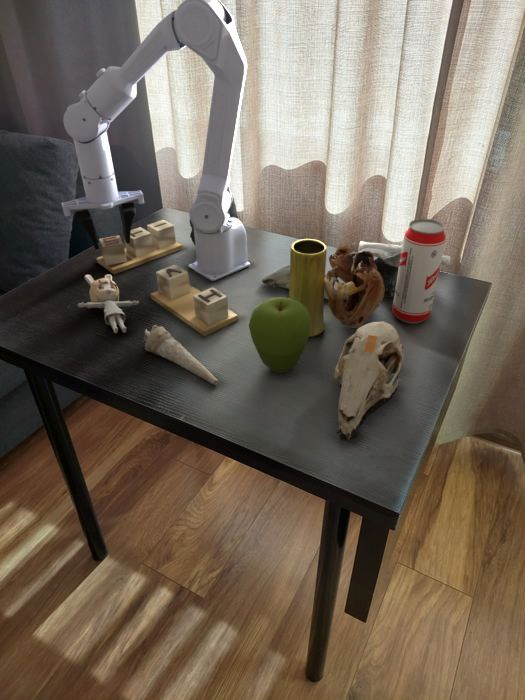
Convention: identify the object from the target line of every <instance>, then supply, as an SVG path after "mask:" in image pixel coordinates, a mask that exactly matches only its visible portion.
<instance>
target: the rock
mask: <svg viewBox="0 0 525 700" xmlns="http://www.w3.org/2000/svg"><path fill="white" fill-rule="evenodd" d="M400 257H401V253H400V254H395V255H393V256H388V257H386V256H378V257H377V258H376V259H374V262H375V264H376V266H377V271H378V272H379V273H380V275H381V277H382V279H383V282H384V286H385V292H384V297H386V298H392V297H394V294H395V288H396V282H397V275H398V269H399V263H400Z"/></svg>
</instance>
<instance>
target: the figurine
mask: <svg viewBox="0 0 525 700" xmlns="http://www.w3.org/2000/svg"><path fill="white" fill-rule="evenodd" d="M401 241H402V242H403V239H402V240H401ZM401 250H402V244H401V245H397V244H389V243H387V244H386V243H381V242H367V241H364V240H360V241H359V244H358V250H357V251H358V252H357V253H359V252H362V251H368V252H371V253H373V254H377V255H381V256H382V257H388V256H393V255H395V254H400V253H401ZM453 264H454V263H453V262H452V258H451V256H450V255H443V256H442V261H441V266H442V265H443V266H445V267H447V268H451V267H452V266H454V265H453Z"/></svg>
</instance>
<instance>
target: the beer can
mask: <svg viewBox="0 0 525 700" xmlns="http://www.w3.org/2000/svg"><path fill="white" fill-rule="evenodd" d="M402 240H403V241H402V244H401V245H402V250H401V257H400V263H399V269H398V275H397V282H396V288H395V294H394V296H393V301H392V307H391V310H392V313H393V315H394V316H395V318H397V319H398V320H399V321H401V322H403V323H406V324H412V325H413V324H420V323H423V322H424V321H426V320H428V319H429V317H430V316H431V313H432V309H433V304H434V301H435V300H434V299H435V294H436V290H437V285H438V280H439V276H440V270H441V266H442V265H441V261H442V256H444V250H445V247H446V242H447V237H446V233H445V225H444V224H443V223H442V222H440V221H438V220H435V219H431V218H430V219H429V218H417V219H413V220H411V221H410V222H409V225H408V227H407V229H406V230H405V231H404V234H403V238H402Z"/></svg>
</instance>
